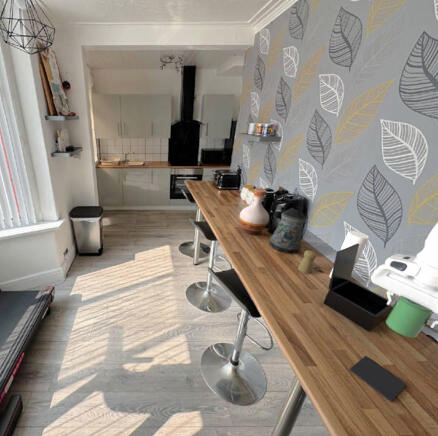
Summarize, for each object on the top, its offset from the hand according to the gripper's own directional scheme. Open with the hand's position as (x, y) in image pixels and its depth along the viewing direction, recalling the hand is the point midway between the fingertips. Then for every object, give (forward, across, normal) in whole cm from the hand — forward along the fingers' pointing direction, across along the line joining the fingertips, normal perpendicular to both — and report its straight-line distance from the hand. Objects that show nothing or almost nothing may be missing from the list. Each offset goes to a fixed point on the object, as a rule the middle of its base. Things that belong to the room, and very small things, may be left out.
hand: (409, 314), depth 64 cm
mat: (+23, -2, +3) cm, 23 cm away
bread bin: (+23, +15, -22) cm, 35 cm away
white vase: (+23, +84, -42) cm, 97 cm away
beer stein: (+23, +62, -45) cm, 80 cm away
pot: (+5, 0, 0) cm, 5 cm away
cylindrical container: (+23, +30, -39) cm, 54 cm away
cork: (+23, +41, -32) cm, 57 cm away
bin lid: (+6, +24, -22) cm, 33 cm away
